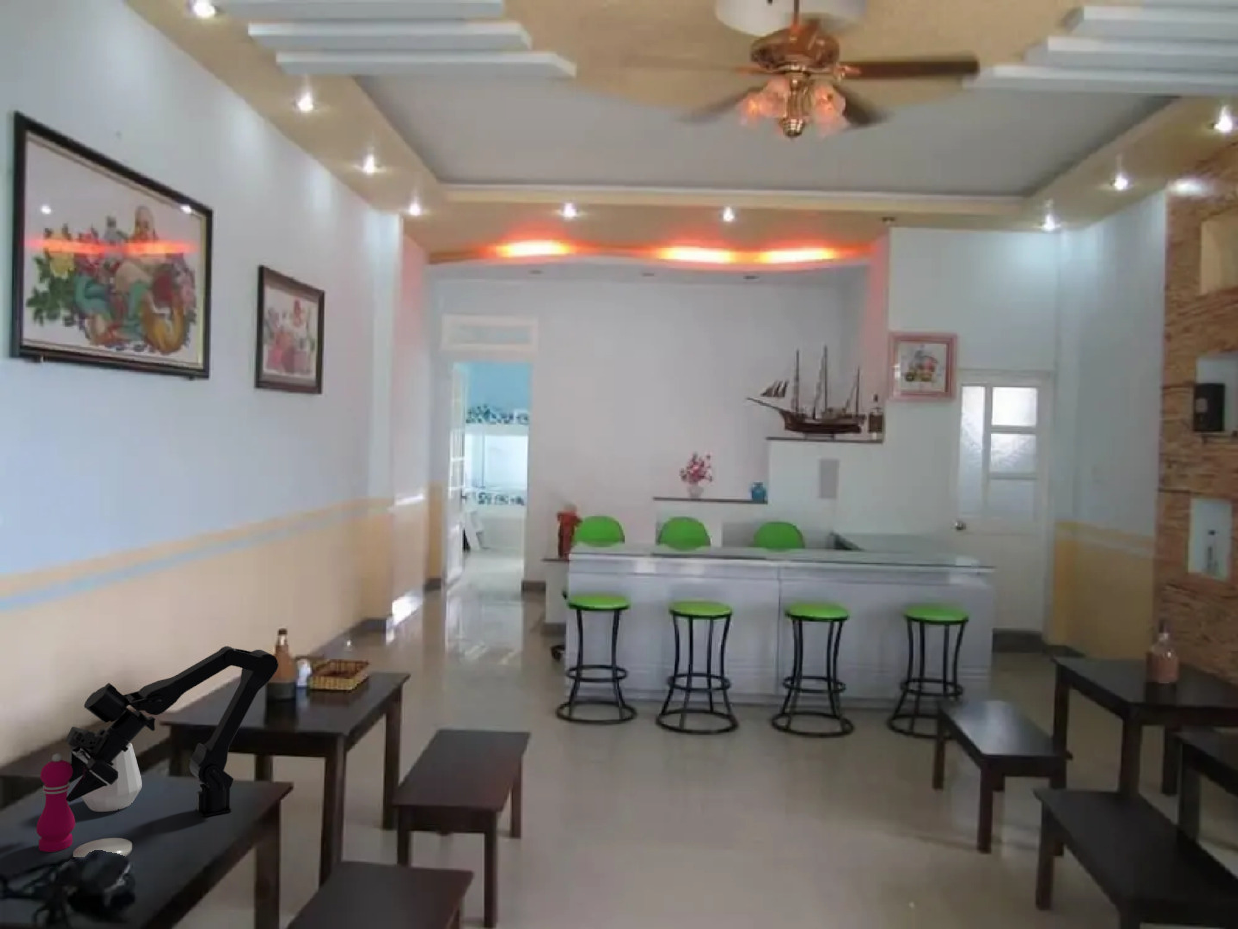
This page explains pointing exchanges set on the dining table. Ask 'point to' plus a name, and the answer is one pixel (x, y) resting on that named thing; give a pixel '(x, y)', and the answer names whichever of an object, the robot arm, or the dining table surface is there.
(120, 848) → the saucer
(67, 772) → the pepper mill
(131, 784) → the cup
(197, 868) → the dining table surface
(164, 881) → the dining table surface
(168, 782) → the dining table surface
